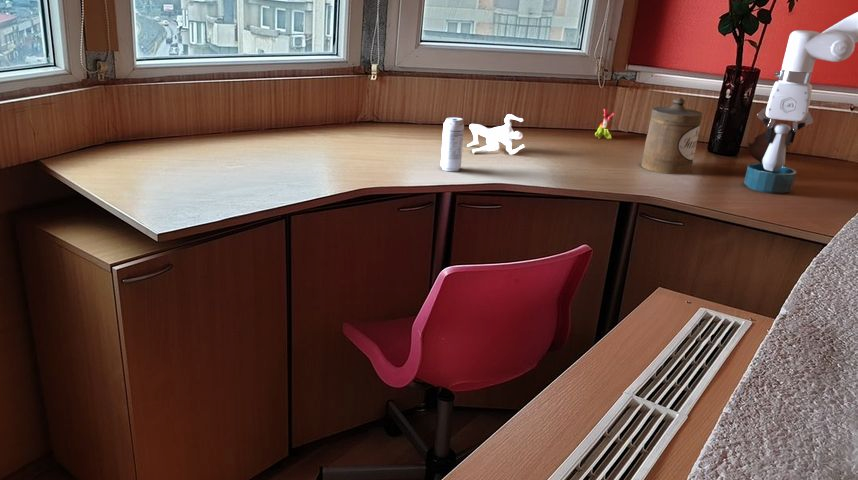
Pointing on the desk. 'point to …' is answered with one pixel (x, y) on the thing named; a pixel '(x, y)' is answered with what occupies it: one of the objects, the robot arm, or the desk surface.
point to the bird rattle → (604, 126)
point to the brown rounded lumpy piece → (759, 146)
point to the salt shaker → (776, 148)
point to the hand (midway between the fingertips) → (778, 143)
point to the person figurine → (497, 136)
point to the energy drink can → (452, 144)
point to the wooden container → (671, 139)
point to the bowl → (769, 179)
